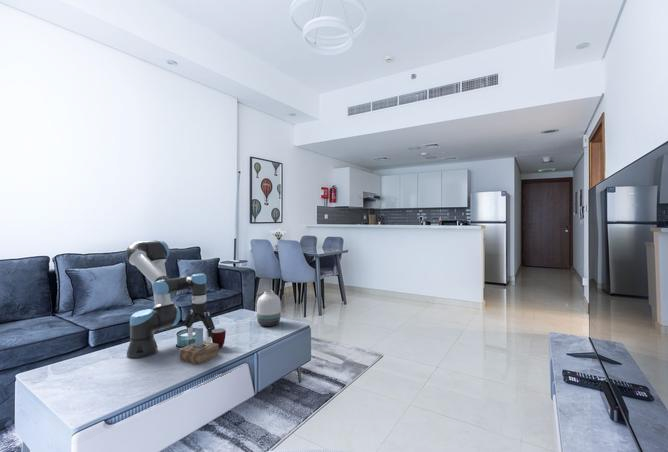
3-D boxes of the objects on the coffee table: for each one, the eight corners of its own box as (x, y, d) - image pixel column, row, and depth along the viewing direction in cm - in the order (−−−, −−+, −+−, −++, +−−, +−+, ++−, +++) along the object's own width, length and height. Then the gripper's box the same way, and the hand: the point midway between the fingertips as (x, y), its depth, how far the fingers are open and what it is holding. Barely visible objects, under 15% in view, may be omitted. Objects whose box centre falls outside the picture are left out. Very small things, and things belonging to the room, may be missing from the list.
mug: (211, 352, 184) (211, 335, 184) (204, 348, 189) (204, 332, 189) (228, 347, 192) (228, 330, 192) (221, 343, 197) (221, 327, 197)
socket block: (179, 360, 174) (179, 348, 174) (199, 350, 187) (199, 340, 187) (199, 364, 168) (199, 353, 168) (218, 354, 181) (218, 343, 181)
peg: (193, 358, 176) (193, 329, 176) (199, 355, 180) (199, 327, 180) (199, 359, 175) (199, 330, 175) (204, 356, 179) (204, 327, 178)
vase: (256, 321, 240) (256, 289, 240) (279, 319, 245) (278, 288, 245) (257, 329, 224) (257, 294, 224) (282, 326, 229) (282, 293, 229)
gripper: (176, 301, 179) (177, 339, 179) (211, 306, 169) (211, 346, 169) (187, 298, 185) (188, 335, 186) (221, 302, 176) (221, 341, 176)
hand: (199, 340), depth 177 cm, fingers open, 13 cm apart
